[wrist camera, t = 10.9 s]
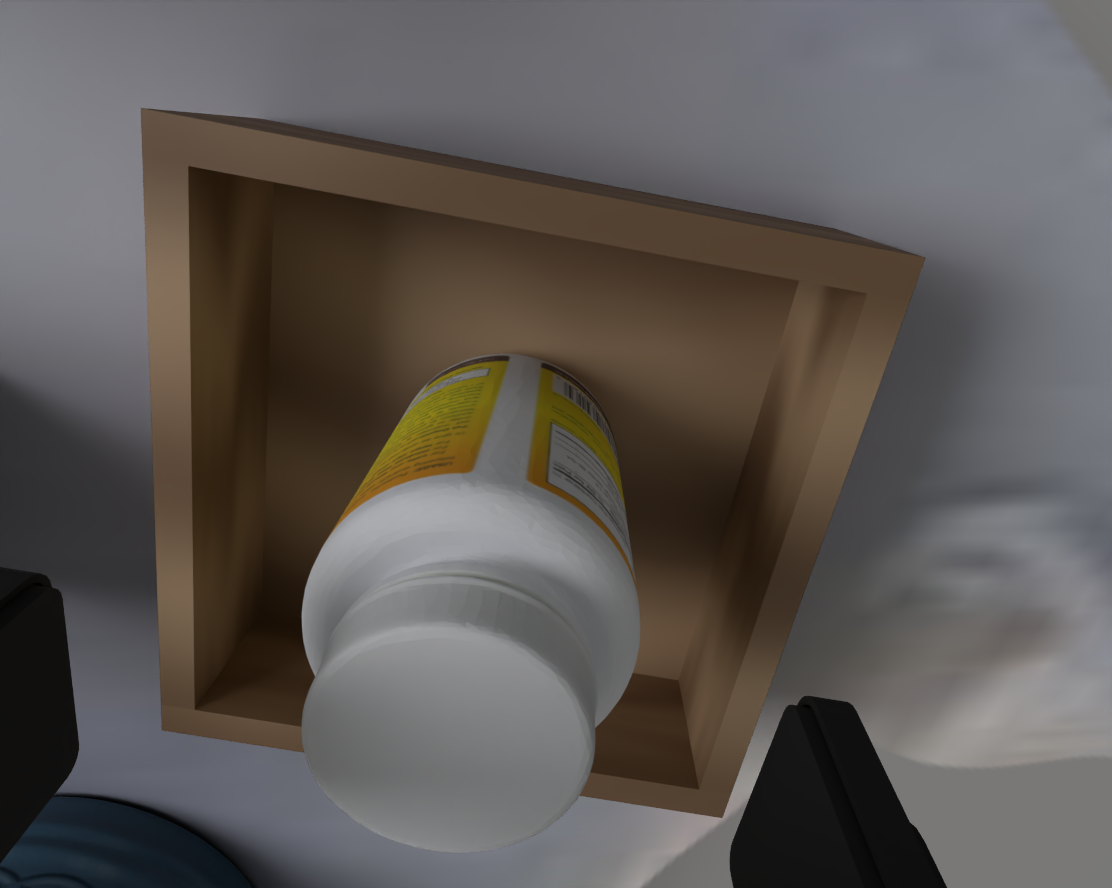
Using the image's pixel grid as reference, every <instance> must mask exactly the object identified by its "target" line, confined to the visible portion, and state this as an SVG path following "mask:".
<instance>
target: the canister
mask: <svg viewBox="0 0 1112 888" xmlns="http://www.w3.org/2000/svg"><path fill="white" fill-rule="evenodd" d="M0 888H252V887H251V885H250V884H249V883H248V881H247V880H246V879H245V877H244V876H243V875H242V874H241V873H240V872H239V870H238V869H237V868H236V867H235V866H234V865H233V864H232V863H231V862H230V861H229V860H228V859H227V858H226V857H224V856H223V855H222V854H221V853H220V852H218V851H217V850H216V849H215V848H213V847H212V846H211V845H209V844H208V843H207V842H205V841H204V840H202V839H201V838H199V837H198V836H196V835H195V834H193V833H191V832H189V831H188V830H186V829H184V828H182V827H180V826H178V825H176V824H174V823H172V822H170V821H168V820H165V819H163V818H161V817H159V816H156V815H154V814H151V813H148V812H146V811H143V810H140V809H136V808H133V807H130V806H126V805H122V804H118V803H113V802H108V801H104V800H97V799H91V798H80V797H52V798H51V799H50V801H49V802H48V803H47V804H46V806H45V807H44V808H43V810H42V811H41V812H40V813H39V815H38V816H37V817H36V819H35V820H34V821H33V822H32V824H31V825H30V826H29V827H28V829H27V830H26V831H25V833H24V834H23V835H22V836H21V838H20V839H19V840H18V842H17V843H16V844H15V845H14V847H13V848H12V849H11V851H10V852H9V853H8V854H7V856H6V857H5V858H4V860H3V861H2V862H1V863H0Z"/></svg>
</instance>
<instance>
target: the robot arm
mask: <svg viewBox="0 0 1112 888" xmlns="http://www.w3.org/2000/svg"><path fill="white" fill-rule="evenodd" d="M78 752H79V740H78V731H77V722H76V713H75V704H74V696H73V687H72V678H71V669H70V660H69V651H68V643H67V634H66V625H65V616H64V607H63V599H62V595H61V592H60V591H59V590H58V589H55V588H52V586H51V582H50V580H49V579H48V577H47V576H46V575H43V574H39V573H33V572H27V571H20V570H14V569H8V568H2V567H0V863H1V862H2V861H3V860H4V858H5V857H6V856H7V854H8V853H9V852H10V851H11V849H12V848H13V847H14V845H15V844H16V843H17V842H18V840H19V839H20V838H21V836H22V835H23V834H24V833H25V831H26V830H27V829H28V827H29V826H30V825H31V824H32V822H33V821H34V820H35V819H36V817H37V816H38V815H39V813H40V812H41V811H42V810H43V808H44V807H45V806H46V804H47V803H48V802H49V801H50V799H51V798H52V797H53V795H54V794H55V793H56V792H57V790H58V789H59V788H60V786H61V785H62V784H63V783H64V781H65V780H66V779H67V777H68V776H69V774H70V773H71V771H72V769H73V767H74V765H75V762H76V759H77V756H78ZM730 872H731V877H732V882H733V887H734V888H947V887H946V885H945V883H944V881H943V878H942V876H941V874H940V872H939V871H938V868H937V866H936V864H935V862H934V860H933V858H932V856H931V854H930V852H929V850H928V848H927V846H926V843H925V841H924V840H923V838H922V836H921V835H920V833H919V832H918V830H917V828H916V827H915V826H914V825H912V824H911V823H910V822H909V820H908V818H907V816H906V814H905V812H904V809H903V807H902V805H901V803H900V801H899V799H898V797H897V795H896V793H895V791H894V789H893V787H892V784H891V782H890V780H889V778H888V776H887V774H886V772H885V770H884V768H883V766H882V764H881V762H880V759H879V757H878V755H877V753H876V751H875V749H874V747H873V745H872V743H871V741H870V738H869V736H868V734H867V732H866V730H865V728H864V726H863V724H862V722H861V720H860V718H859V716H858V713H857V711H856V710H855V708H854V707H853V705H851V704H850V703H848V702H844V701H837V700H831V699H825V698H819V697H812V696H804V697H803V698H802V699H801V700H800V701H799V703H798V705H797V706H796V705H788V706H787V707H786V709H785V711H784V712H783V715H782V718H781V720H780V723H779V725H778V728H777V730H776V733H775V735H774V738H773V740H772V743H771V745H770V748H769V750H768V753H767V755H766V758H765V761H764V763H763V766H762V768H761V771H760V773H759V776H758V778H757V781H756V783H755V786H754V788H753V791H752V793H751V796H750V799H749V801H748V804H747V806H746V809H745V811H744V814H743V816H742V819H741V821H740V824H739V826H738V829H737V831H736V834H735V837H734V839H733V842H732V845H731V851H730Z"/></svg>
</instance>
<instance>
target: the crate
mask: <svg viewBox="0 0 1112 888" xmlns="http://www.w3.org/2000/svg"><path fill="white" fill-rule="evenodd" d="M141 128H142V157H143V187H144V216H145V246H146V275H147V305H148V334H149V363H150V393H151V422H152V452H153V481H154V511H155V540H156V570H157V599H158V629H159V658H160V688H161V717H162V730H164V731H170V732H177V733H183V734H189V735H196V736H202V737H209V738H215V739H221V740H228V741H234V742H240V743H247V744H253V745H260V746H266V747H272V748H279V749H285V750H292V751H298V752H304V749H303V745H302V732H301V726H302V714H303V708H304V704H305V701H306V697H307V694H308V691H309V689H310V687H311V685H312V683H313V680H314V678H315V675H314V673H313V671H312V668H311V666H310V664H309V661H308V658H307V655H306V651H305V646H304V642H303V633H302V606H303V598H304V593H305V587H306V584H307V581H308V578H309V575H310V572H311V570H312V567H313V565H314V563H315V561H316V559H317V557H318V555H319V553H320V551H321V549H322V547H323V545H324V543H325V542H326V540H327V539H328V537H329V535H330V534H331V532H332V530H333V529H334V527H335V526H336V524H337V522H338V521H339V519H340V518H341V516H342V514H343V513H344V511H345V510H346V508H347V506H348V505H349V503H350V502H351V500H352V498H353V497H354V495H355V494H356V492H357V490H358V489H359V487H360V486H361V484H362V482H363V481H364V479H365V477H366V476H367V474H368V473H369V471H370V469H371V467H372V466H373V464H374V463H375V461H376V460H377V458H378V456H379V454H380V453H381V451H382V449H383V448H384V446H385V445H386V443H387V441H388V440H389V438H390V437H391V435H392V433H393V432H394V430H395V428H396V427H397V425H398V424H399V422H400V420H401V419H402V417H403V415H404V414H405V412H406V410H407V409H408V407H409V405H410V404H411V402H412V401H413V399H414V398H415V397H416V395H417V394H418V393H419V392H420V391H421V389H422V388H423V387H424V386H425V385H426V384H427V383H428V382H429V381H430V380H431V379H433V378H434V377H435V376H437V375H438V374H439V373H441V372H442V371H444V370H445V369H447V368H449V367H451V366H453V365H455V364H458V363H460V362H462V361H464V360H467V359H470V358H474V357H478V356H482V355H489V354H500V353H506V354H520V355H525V356H530V357H534V358H538V359H541V360H544V361H546V362H549V363H551V364H553V365H555V366H558V367H559V368H561V369H563V370H565V371H567V372H568V373H569V374H571V375H572V376H574V377H575V378H576V379H577V380H579V381H580V382H581V383H582V384H583V385H584V386H585V387H586V388H587V389H588V390H589V391H590V392H591V393H592V395H593V396H594V397H595V398H596V400H597V401H598V403H599V404H600V406H601V407H602V409H603V411H604V413H605V415H606V417H607V419H608V421H609V424H610V426H611V429H612V433H613V436H614V440H615V443H616V451H617V458H618V465H619V472H620V478H621V484H622V491H623V497H624V503H625V512H626V519H627V526H628V533H629V540H630V547H631V553H632V560H633V567H634V574H635V580H636V586H637V594H638V601H639V612H640V644H639V650H638V655H637V661H636V664H635V667H634V670H633V673H632V676H631V678H630V680H629V683H628V685H627V687H626V689H625V691H624V693H623V695H622V696H621V698H620V700H619V701H618V702H617V704H616V705H615V706H614V708H613V709H612V710H611V712H610V713H609V714H608V715H607V717H606V718H605V719H604V720H603V721H602V722H601V723H600V724H599V725H598V726H597V727H596V728H595V754H594V761H593V765H592V768H591V771H590V774H589V777H588V780H587V782H586V784H585V786H584V788H583V790H582V792H581V793H580V795H579V796H585V797H592V798H598V799H604V800H611V801H617V802H624V803H630V804H636V805H643V806H649V807H656V808H662V809H668V810H675V811H681V812H687V813H694V814H700V815H707V816H713V817H719V818H722V817H723V815H724V812H725V809H726V806H727V803H728V801H729V798H730V795H731V792H732V790H733V787H734V784H735V781H736V779H737V776H738V773H739V770H740V768H741V765H742V762H743V759H744V757H745V754H746V751H747V748H748V746H749V743H750V740H751V737H752V735H753V732H754V729H755V726H756V724H757V721H758V718H759V715H760V713H761V710H762V707H763V704H764V702H765V699H766V696H767V693H768V690H769V688H770V685H771V682H772V679H773V677H774V674H775V671H776V668H777V666H778V663H779V660H780V657H781V655H782V652H783V649H784V646H785V644H786V641H787V638H788V635H789V633H790V630H791V627H792V624H793V622H794V619H795V616H796V613H797V611H798V608H799V605H800V602H801V600H802V597H803V594H804V591H805V589H806V586H807V583H808V580H809V577H810V575H811V572H812V569H813V566H814V564H815V561H816V558H817V555H818V553H819V550H820V547H821V544H822V542H823V539H824V536H825V533H826V531H827V528H828V525H829V522H830V520H831V517H832V514H833V511H834V509H835V506H836V503H837V500H838V498H839V495H840V492H841V489H842V487H843V484H844V481H845V478H846V475H847V473H848V470H849V467H850V464H851V462H852V459H853V456H854V453H855V451H856V448H857V445H858V442H859V440H860V437H861V434H862V431H863V429H864V426H865V423H866V420H867V418H868V415H869V412H870V409H871V407H872V404H873V401H874V398H875V396H876V393H877V390H878V387H879V385H880V382H881V379H882V376H883V374H884V371H885V368H886V365H887V362H888V360H889V357H890V354H891V351H892V349H893V346H894V343H895V340H896V338H897V335H898V332H899V329H900V327H901V324H902V321H903V318H904V316H905V313H906V310H907V307H908V305H909V302H910V299H911V296H912V294H913V291H914V288H915V285H916V283H917V280H918V277H919V274H920V272H921V269H922V266H923V263H924V261H925V257H922V256H919V255H915V254H912V253H909V252H906V251H903V250H900V249H897V248H894V247H890V246H887V245H884V244H881V243H878V242H875V241H872V240H868V239H865V238H862V237H859V236H856V235H853V234H850V233H846V232H843V231H840V230H837V229H833V228H828V227H823V226H817V225H812V224H807V223H802V222H797V221H791V220H786V219H781V218H776V217H770V216H765V215H760V214H755V213H749V212H744V211H739V210H734V209H729V208H723V207H718V206H713V205H708V204H702V203H697V202H692V201H687V200H681V199H676V198H671V197H666V196H661V195H655V194H650V193H645V192H640V191H634V190H629V189H624V188H619V187H614V186H608V185H603V184H598V183H593V182H587V181H582V180H577V179H572V178H566V177H561V176H556V175H551V174H546V173H540V172H535V171H530V170H525V169H519V168H514V167H509V166H504V165H498V164H493V163H488V162H483V161H478V160H472V159H467V158H462V157H457V156H451V155H446V154H441V153H436V152H430V151H425V150H420V149H415V148H410V147H404V146H399V145H394V144H389V143H383V142H378V141H373V140H368V139H363V138H357V137H352V136H347V135H342V134H336V133H331V132H326V131H321V130H315V129H310V128H305V127H300V126H295V125H289V124H284V123H279V122H274V121H268V120H263V119H257V118H246V117H235V116H223V115H212V114H201V113H190V112H178V111H167V110H156V109H145V108H141ZM304 753H305V752H304Z"/></svg>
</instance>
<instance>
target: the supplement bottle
mask: <svg viewBox="0 0 1112 888" xmlns="http://www.w3.org/2000/svg"><path fill="white" fill-rule="evenodd" d="M302 633H303V642H304V646H305V651H306V655H307V658H308V661H309V664H310V666H311V668H312V671H313V673H314V675H315V678H314V680H313V683H312V685H311V687H310V689H309V691H308V694H307V697H306V701H305V704H304V708H303V714H302V726H301V732H302V745H303V749H304V752H305V756H306V759H307V761H308V764H309V767H310V769H311V772H312V774H313V775H314V777H315V779H316V781H317V782H318V784H319V785H320V787H321V788H322V789H323V791H324V792H325V793H326V795H327V796H328V797H329V798H330V799H331V800H332V801H333V802H334V803H335V804H336V805H337V806H338V807H339V808H340V809H341V810H343V811H344V812H345V813H346V814H347V815H348V816H350V817H351V818H352V819H353V820H355V821H357V822H358V823H360V824H362V825H363V826H365V827H366V828H368V829H370V830H371V831H373V832H375V833H377V834H379V835H381V836H383V837H386V838H388V839H390V840H393V841H396V842H400V843H403V844H406V845H410V846H413V847H417V848H421V849H427V850H434V851H442V852H461V853H465V852H476V851H485V850H492V849H497V848H501V847H505V846H509V845H512V844H515V843H517V842H520V841H522V840H524V839H526V838H529V837H531V836H534V835H536V834H538V833H539V832H541V831H543V830H544V829H546V828H548V827H549V826H550V825H552V824H553V823H554V822H555V821H557V820H558V819H559V818H560V817H561V816H562V815H563V814H564V813H565V812H566V811H567V810H568V809H569V808H570V807H571V806H572V805H573V803H574V802H575V801H576V800H577V799H578V797H579V795H580V793H581V792H582V790H583V788H584V786H585V784H586V782H587V780H588V777H589V774H590V771H591V768H592V765H593V761H594V754H595V728H596V727H597V726H598V725H599V724H600V723H601V722H602V721H603V720H604V719H605V718H606V717H607V715H608V714H609V713H610V712H611V710H612V709H613V708H614V706H615V705H616V704H617V702H618V701H619V700H620V698H621V696H622V695H623V693H624V691H625V689H626V687H627V685H628V683H629V680H630V678H631V676H632V673H633V670H634V667H635V664H636V661H637V655H638V650H639V644H640V612H639V601H638V594H637V586H636V580H635V574H634V567H633V560H632V553H631V547H630V540H629V533H628V526H627V519H626V512H625V503H624V497H623V491H622V484H621V478H620V472H619V465H618V458H617V451H616V443H615V440H614V436H613V433H612V429H611V426H610V424H609V421H608V419H607V417H606V415H605V413H604V411H603V409H602V407H601V406H600V404H599V403H598V401H597V400H596V398H595V397H594V396H593V395H592V393H591V392H590V391H589V390H588V389H587V388H586V387H585V386H584V385H583V384H582V383H581V382H580V381H579V380H577V379H576V378H575V377H574V376H572V375H571V374H569V373H568V372H567V371H565V370H563V369H561V368H559V367H558V366H555V365H553V364H551V363H549V362H546V361H544V360H541V359H538V358H534V357H530V356H525V355H520V354H506V353H500V354H489V355H482V356H478V357H474V358H470V359H467V360H464V361H462V362H460V363H458V364H455V365H453V366H451V367H449V368H447V369H445V370H444V371H442V372H441V373H439V374H438V375H437V376H435V377H434V378H433V379H431V380H430V381H429V382H428V383H427V384H426V385H425V386H424V387H423V388H422V389H421V391H420V392H419V393H418V394H417V395H416V397H415V398H414V399H413V401H412V402H411V404H410V405H409V407H408V409H407V410H406V412H405V414H404V415H403V417H402V419H401V420H400V422H399V424H398V425H397V427H396V428H395V430H394V432H393V433H392V435H391V437H390V438H389V440H388V441H387V443H386V445H385V446H384V448H383V449H382V451H381V453H380V454H379V456H378V458H377V460H376V461H375V463H374V464H373V466H372V467H371V469H370V471H369V473H368V474H367V476H366V477H365V479H364V481H363V482H362V484H361V486H360V487H359V489H358V490H357V492H356V494H355V495H354V497H353V498H352V500H351V502H350V503H349V505H348V506H347V508H346V510H345V511H344V513H343V514H342V516H341V518H340V519H339V521H338V522H337V524H336V526H335V527H334V529H333V530H332V532H331V534H330V535H329V537H328V539H327V540H326V542H325V543H324V545H323V547H322V549H321V551H320V553H319V555H318V557H317V559H316V561H315V563H314V565H313V567H312V570H311V572H310V575H309V578H308V581H307V584H306V587H305V593H304V598H303V606H302Z"/></svg>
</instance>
